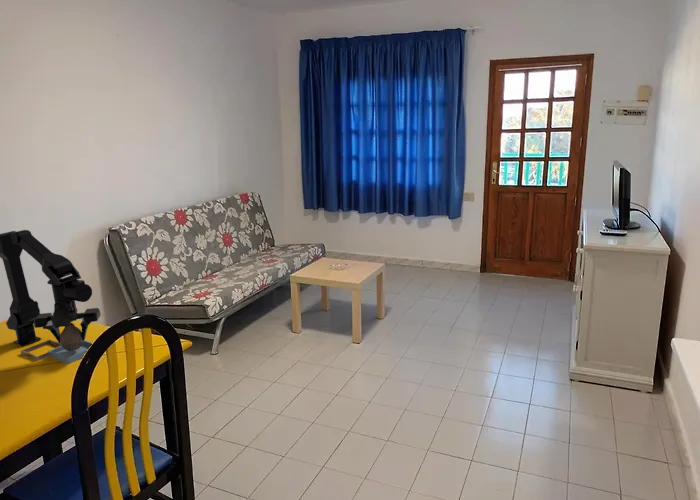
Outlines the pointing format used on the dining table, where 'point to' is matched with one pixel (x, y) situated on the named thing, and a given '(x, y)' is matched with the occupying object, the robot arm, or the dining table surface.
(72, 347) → the vase
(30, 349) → the walnut frame
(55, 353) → the slate tray
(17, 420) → the dining table surface
